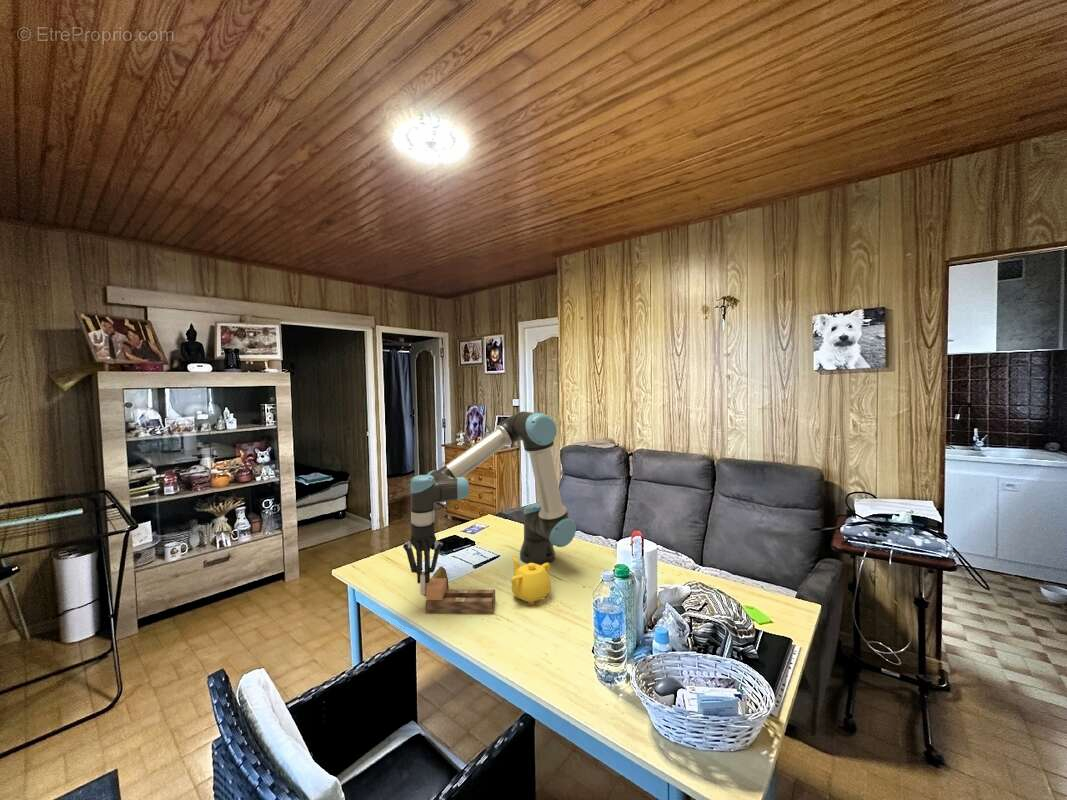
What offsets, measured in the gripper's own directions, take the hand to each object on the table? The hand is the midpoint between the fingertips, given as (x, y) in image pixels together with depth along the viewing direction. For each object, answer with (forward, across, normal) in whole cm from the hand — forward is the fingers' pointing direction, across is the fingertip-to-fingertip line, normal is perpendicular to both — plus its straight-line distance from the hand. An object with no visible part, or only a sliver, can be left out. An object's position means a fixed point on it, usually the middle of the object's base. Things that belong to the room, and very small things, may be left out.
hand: (423, 592), depth 139 cm
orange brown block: (+4, -4, 0) cm, 6 cm away
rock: (+5, -2, -6) cm, 8 cm away
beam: (+5, -13, 0) cm, 14 cm away
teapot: (+5, -34, -8) cm, 36 cm away
